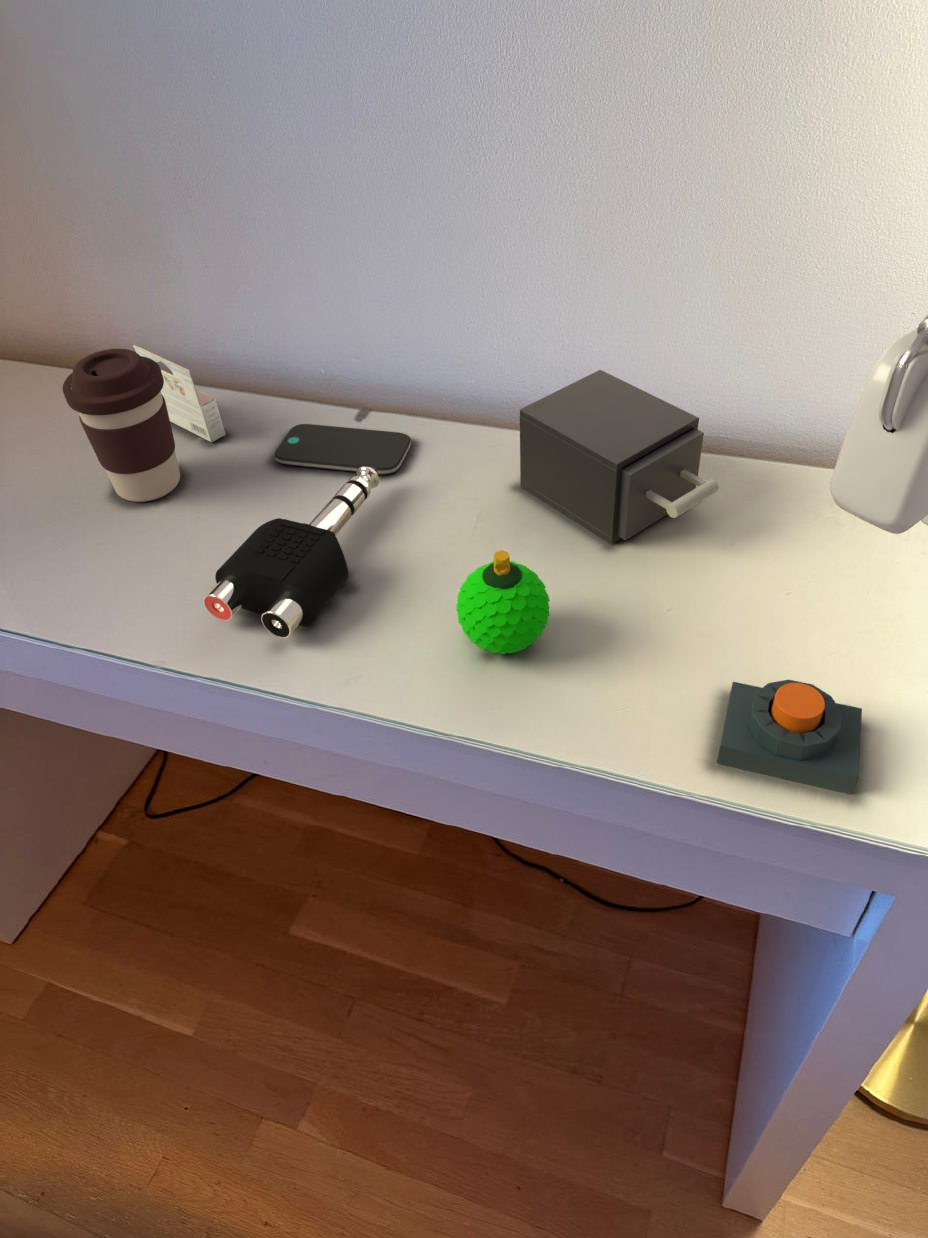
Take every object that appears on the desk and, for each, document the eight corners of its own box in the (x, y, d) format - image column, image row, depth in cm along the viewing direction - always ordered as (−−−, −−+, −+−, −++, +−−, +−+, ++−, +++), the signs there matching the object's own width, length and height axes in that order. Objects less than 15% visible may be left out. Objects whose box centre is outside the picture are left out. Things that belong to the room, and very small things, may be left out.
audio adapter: (190, 580, 84) (328, 437, 100) (204, 622, 88) (335, 478, 104) (293, 609, 80) (419, 456, 96) (303, 652, 84) (423, 498, 100)
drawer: (727, 515, 94) (738, 449, 88) (657, 560, 89) (665, 494, 84) (607, 448, 103) (611, 386, 98) (538, 486, 99) (539, 423, 94)
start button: (821, 703, 72) (826, 688, 71) (818, 738, 70) (823, 723, 68) (774, 693, 73) (777, 678, 72) (768, 727, 71) (772, 712, 69)
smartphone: (294, 421, 111) (414, 432, 108) (295, 428, 111) (414, 439, 108) (269, 457, 106) (395, 470, 102) (270, 463, 106) (395, 476, 103)
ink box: (170, 407, 117) (148, 335, 110) (226, 435, 111) (207, 361, 105) (154, 415, 116) (131, 343, 109) (210, 444, 110) (189, 370, 103)
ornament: (549, 610, 86) (551, 525, 79) (548, 674, 80) (549, 588, 74) (463, 609, 87) (457, 524, 80) (455, 672, 81) (448, 587, 74)
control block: (855, 726, 75) (867, 692, 72) (851, 794, 70) (863, 762, 67) (728, 699, 77) (736, 666, 75) (716, 763, 73) (723, 730, 70)
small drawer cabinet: (688, 497, 98) (699, 417, 91) (611, 544, 93) (617, 464, 86) (595, 445, 106) (600, 368, 99) (520, 486, 101) (519, 409, 94)
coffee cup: (200, 457, 108) (164, 337, 98) (184, 508, 101) (144, 384, 91) (116, 462, 108) (71, 343, 98) (94, 513, 101) (43, 391, 91)
